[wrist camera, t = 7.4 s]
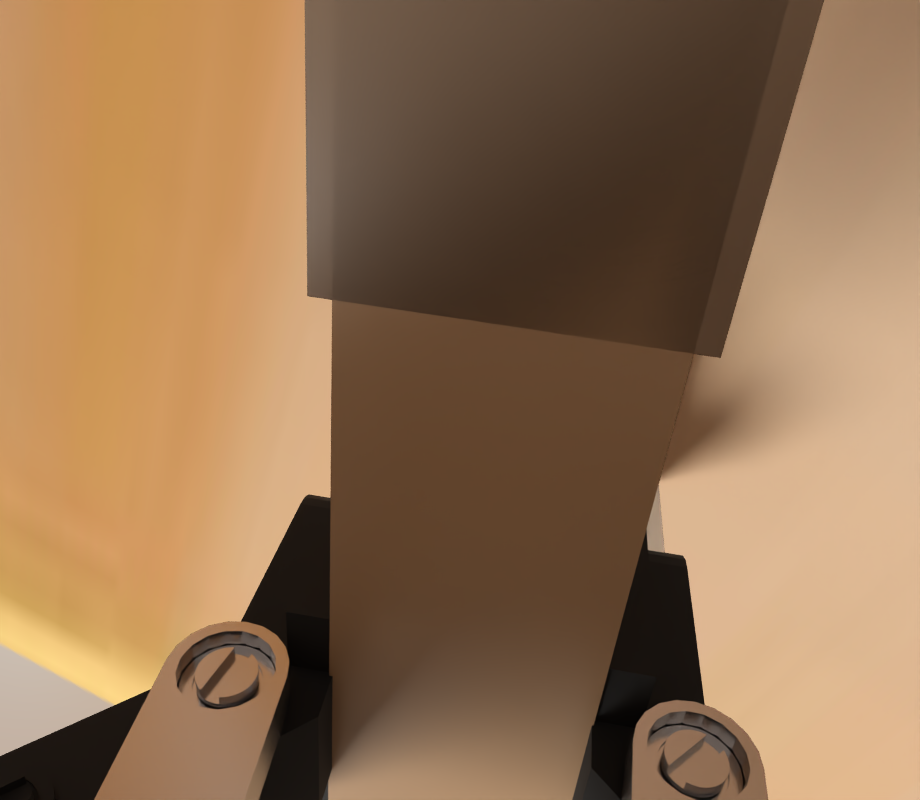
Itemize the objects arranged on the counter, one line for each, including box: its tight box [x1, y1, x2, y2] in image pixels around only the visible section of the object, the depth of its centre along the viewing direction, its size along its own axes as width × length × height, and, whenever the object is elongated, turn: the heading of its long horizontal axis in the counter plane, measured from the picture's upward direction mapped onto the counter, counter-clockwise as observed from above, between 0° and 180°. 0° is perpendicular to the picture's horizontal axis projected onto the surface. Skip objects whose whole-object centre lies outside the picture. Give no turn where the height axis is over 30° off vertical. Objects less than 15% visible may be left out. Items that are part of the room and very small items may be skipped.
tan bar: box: [305, 0, 824, 800], centre depth 11 cm, size 3×16×5 cm, turn 175°
